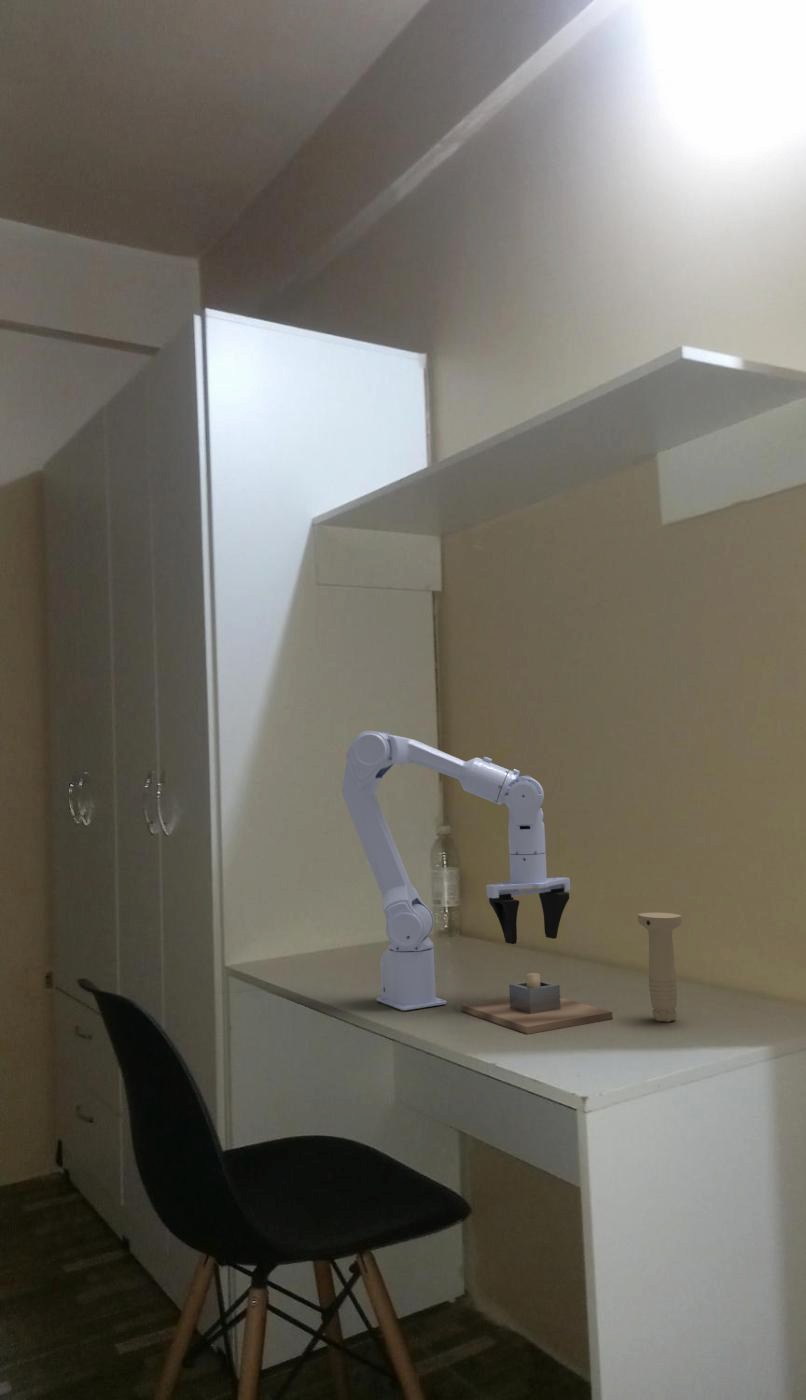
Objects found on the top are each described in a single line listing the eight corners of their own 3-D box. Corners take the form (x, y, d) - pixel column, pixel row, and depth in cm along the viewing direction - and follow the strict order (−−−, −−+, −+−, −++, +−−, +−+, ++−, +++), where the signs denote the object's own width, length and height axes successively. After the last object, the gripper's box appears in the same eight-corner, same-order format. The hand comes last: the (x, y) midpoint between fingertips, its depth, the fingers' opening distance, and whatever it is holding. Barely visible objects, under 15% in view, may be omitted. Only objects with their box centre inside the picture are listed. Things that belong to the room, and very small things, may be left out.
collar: (510, 1007, 168) (509, 984, 169) (539, 1002, 171) (538, 979, 171) (530, 1013, 164) (529, 989, 164) (560, 1008, 166) (559, 985, 166)
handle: (659, 1013, 165) (654, 911, 166) (693, 1020, 160) (687, 915, 161) (636, 1018, 162) (631, 915, 163) (670, 1026, 157) (664, 919, 158)
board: (461, 1011, 172) (459, 971, 172) (541, 998, 179) (539, 960, 179) (527, 1034, 156) (525, 990, 156) (612, 1018, 163) (610, 977, 163)
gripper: (502, 858, 169) (506, 948, 168) (580, 851, 176) (584, 938, 175) (478, 855, 175) (481, 943, 174) (553, 849, 182) (557, 933, 181)
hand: (531, 940), depth 175 cm, fingers open, 7 cm apart
